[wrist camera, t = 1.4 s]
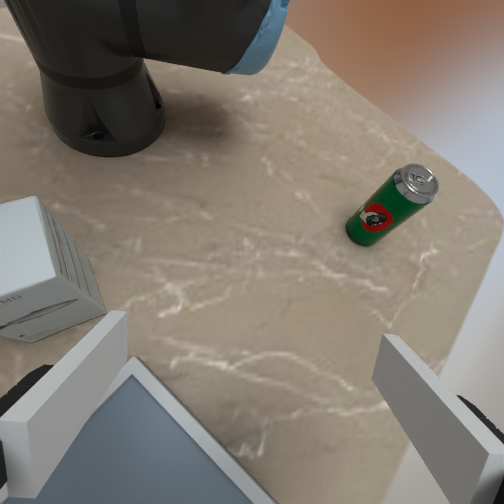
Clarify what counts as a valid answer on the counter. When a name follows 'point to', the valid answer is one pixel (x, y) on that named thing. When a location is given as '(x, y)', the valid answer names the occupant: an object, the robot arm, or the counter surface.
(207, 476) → the shallow rimmed tray
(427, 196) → the soda can
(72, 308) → the supplement box
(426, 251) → the counter surface
